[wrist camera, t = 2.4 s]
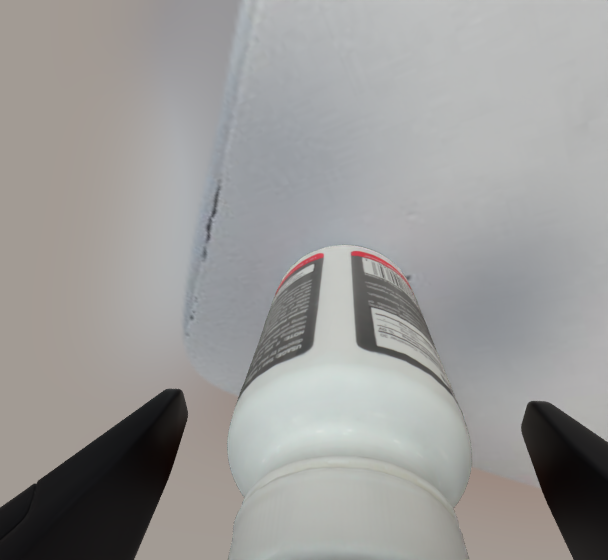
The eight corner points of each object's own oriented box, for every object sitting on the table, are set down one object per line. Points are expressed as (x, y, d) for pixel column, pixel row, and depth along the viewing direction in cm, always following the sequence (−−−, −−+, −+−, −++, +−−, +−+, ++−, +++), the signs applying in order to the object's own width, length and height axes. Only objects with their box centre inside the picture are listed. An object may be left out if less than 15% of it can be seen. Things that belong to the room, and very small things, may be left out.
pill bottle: (293, 366, 16) (231, 694, 7) (260, 254, 13) (107, 526, 5) (419, 351, 15) (536, 712, 6) (405, 228, 12) (557, 505, 4)
